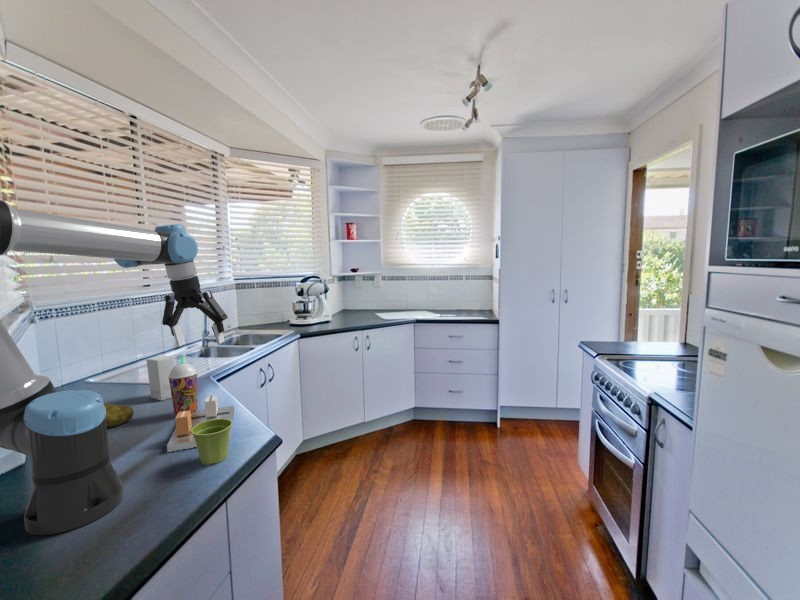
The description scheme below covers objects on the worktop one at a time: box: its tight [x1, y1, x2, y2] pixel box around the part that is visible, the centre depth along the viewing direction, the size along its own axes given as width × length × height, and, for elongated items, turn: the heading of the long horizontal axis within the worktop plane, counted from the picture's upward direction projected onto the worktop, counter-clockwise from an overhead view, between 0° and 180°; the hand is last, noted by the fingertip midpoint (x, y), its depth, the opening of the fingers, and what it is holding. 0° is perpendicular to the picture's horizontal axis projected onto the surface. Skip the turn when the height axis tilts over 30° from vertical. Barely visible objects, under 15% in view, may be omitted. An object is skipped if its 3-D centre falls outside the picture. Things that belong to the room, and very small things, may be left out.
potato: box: [103, 402, 134, 428], centre depth 117 cm, size 8×13×8 cm, turn 131°
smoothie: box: [168, 354, 198, 416], centre depth 125 cm, size 8×8×20 cm
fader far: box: [204, 395, 219, 418], centre depth 118 cm, size 3×5×5 cm, turn 21°
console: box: [166, 405, 235, 453], centre depth 112 cm, size 15×24×2 cm, turn 21°
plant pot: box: [191, 419, 234, 466], centre depth 94 cm, size 9×9×9 cm
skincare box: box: [146, 355, 176, 402], centre depth 142 cm, size 8×7×16 cm
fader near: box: [174, 410, 192, 436], centre depth 106 cm, size 3×5×5 cm, turn 21°
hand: (201, 343), depth 116 cm, fingers open, 13 cm apart
